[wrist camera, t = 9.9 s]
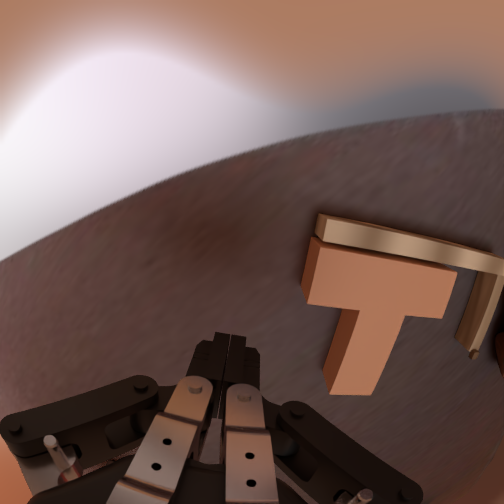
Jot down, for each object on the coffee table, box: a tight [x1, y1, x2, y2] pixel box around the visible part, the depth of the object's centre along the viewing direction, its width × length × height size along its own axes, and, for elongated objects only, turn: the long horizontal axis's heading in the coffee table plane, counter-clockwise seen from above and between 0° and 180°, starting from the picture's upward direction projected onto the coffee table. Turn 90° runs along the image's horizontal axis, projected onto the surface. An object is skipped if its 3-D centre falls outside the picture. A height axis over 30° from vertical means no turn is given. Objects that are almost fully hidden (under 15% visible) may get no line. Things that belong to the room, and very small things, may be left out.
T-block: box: [301, 237, 457, 395], centre depth 22 cm, size 12×12×4 cm
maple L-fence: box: [315, 213, 504, 359], centre depth 21 cm, size 20×10×4 cm, turn 81°
